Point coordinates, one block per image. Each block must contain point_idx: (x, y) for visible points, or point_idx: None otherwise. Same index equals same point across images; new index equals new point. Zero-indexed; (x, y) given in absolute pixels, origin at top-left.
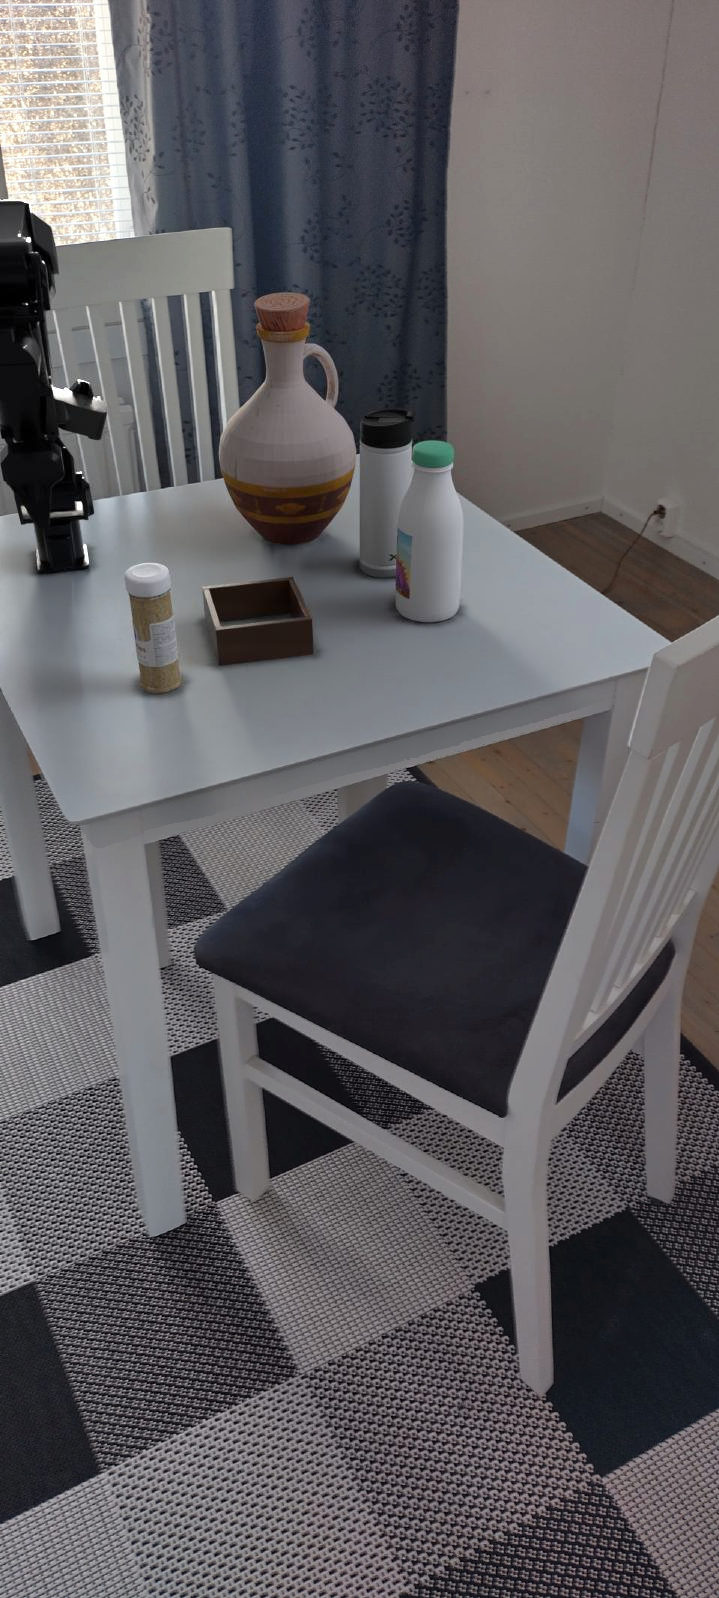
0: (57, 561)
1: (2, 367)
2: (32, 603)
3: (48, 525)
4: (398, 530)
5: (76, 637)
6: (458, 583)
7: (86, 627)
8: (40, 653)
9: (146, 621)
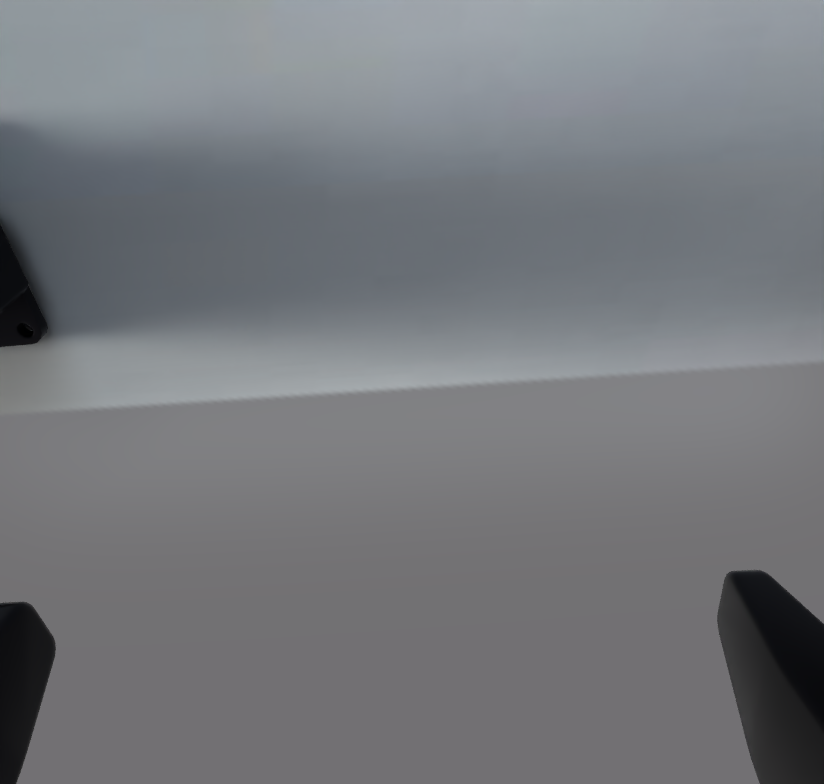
0: (3, 279)
1: None
2: (298, 336)
3: (786, 594)
4: None
5: (625, 149)
6: None
7: (541, 108)
8: (715, 283)
9: None
